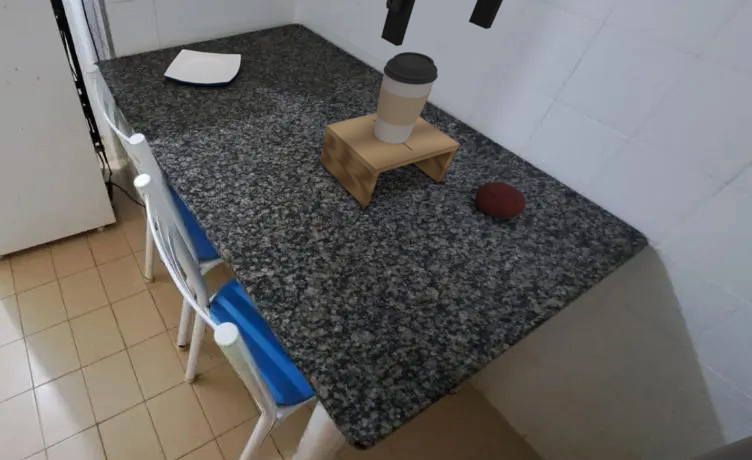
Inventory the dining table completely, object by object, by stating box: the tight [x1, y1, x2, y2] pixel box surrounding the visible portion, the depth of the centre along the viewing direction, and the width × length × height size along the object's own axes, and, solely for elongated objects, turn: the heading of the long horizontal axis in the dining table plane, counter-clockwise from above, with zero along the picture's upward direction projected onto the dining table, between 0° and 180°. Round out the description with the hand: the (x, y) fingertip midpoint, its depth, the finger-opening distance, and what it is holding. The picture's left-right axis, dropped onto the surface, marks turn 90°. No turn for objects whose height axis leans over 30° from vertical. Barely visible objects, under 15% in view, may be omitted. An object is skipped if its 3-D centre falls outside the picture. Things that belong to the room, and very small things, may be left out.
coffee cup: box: [374, 51, 439, 144], centre depth 72 cm, size 9×9×15 cm
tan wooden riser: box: [319, 112, 460, 208], centre depth 81 cm, size 16×20×9 cm
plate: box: [163, 49, 242, 87], centre depth 115 cm, size 20×20×3 cm
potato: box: [474, 181, 527, 219], centre depth 73 cm, size 7×8×6 cm
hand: (437, 33), depth 46 cm, fingers open, 13 cm apart
